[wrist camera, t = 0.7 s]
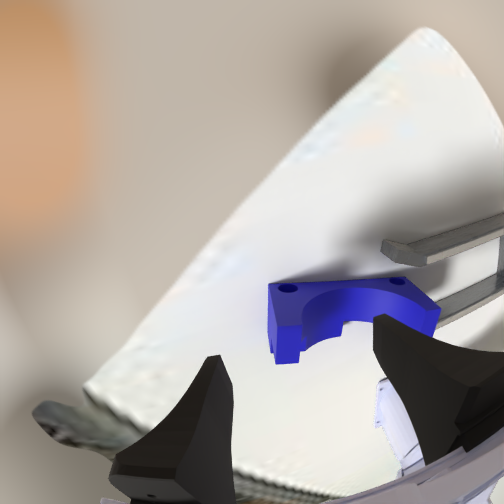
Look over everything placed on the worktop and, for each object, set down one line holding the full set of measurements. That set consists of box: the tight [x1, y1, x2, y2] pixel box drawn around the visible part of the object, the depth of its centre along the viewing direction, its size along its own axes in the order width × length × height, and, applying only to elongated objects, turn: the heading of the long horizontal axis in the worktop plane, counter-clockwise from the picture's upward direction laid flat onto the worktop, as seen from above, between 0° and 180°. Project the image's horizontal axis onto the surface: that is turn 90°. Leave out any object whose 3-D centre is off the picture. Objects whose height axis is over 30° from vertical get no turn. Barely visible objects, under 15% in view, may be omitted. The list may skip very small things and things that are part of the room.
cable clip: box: [268, 277, 442, 364], centre depth 20 cm, size 12×4×6 cm, turn 91°
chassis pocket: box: [380, 213, 504, 330], centre depth 21 cm, size 10×17×3 cm, turn 104°
